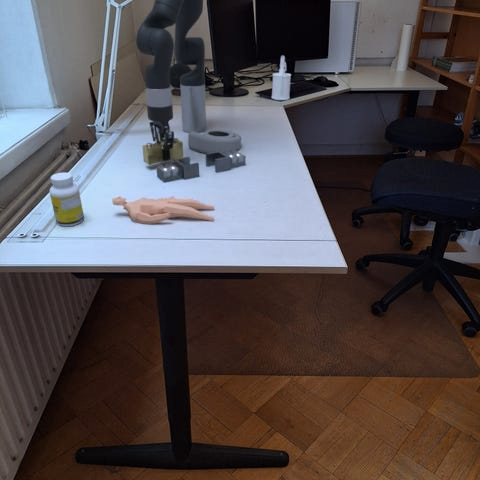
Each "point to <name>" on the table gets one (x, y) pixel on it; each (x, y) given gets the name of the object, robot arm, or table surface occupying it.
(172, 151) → the brass block with pins
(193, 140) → the turbocharger housing
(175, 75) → the dark grey lump
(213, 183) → the table surface
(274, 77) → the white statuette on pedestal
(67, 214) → the pill bottle
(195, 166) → the chain ends
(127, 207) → the male figurine
